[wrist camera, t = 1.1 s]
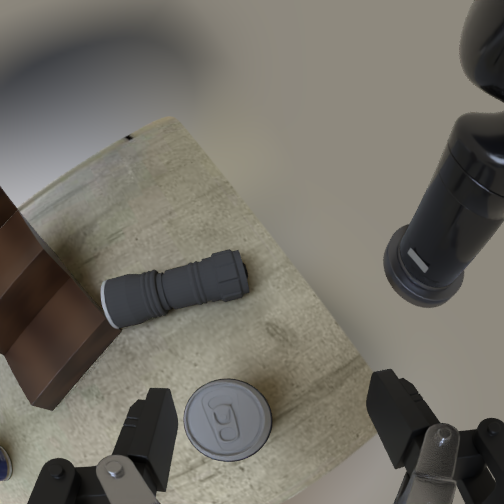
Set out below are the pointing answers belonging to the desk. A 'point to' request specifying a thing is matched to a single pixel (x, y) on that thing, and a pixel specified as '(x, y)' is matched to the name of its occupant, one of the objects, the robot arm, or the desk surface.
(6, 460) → the pill bottle
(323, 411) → the desk surface
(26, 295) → the wooden stair steps
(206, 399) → the beverage can
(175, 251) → the desk surface
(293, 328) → the desk surface
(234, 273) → the flashlight
